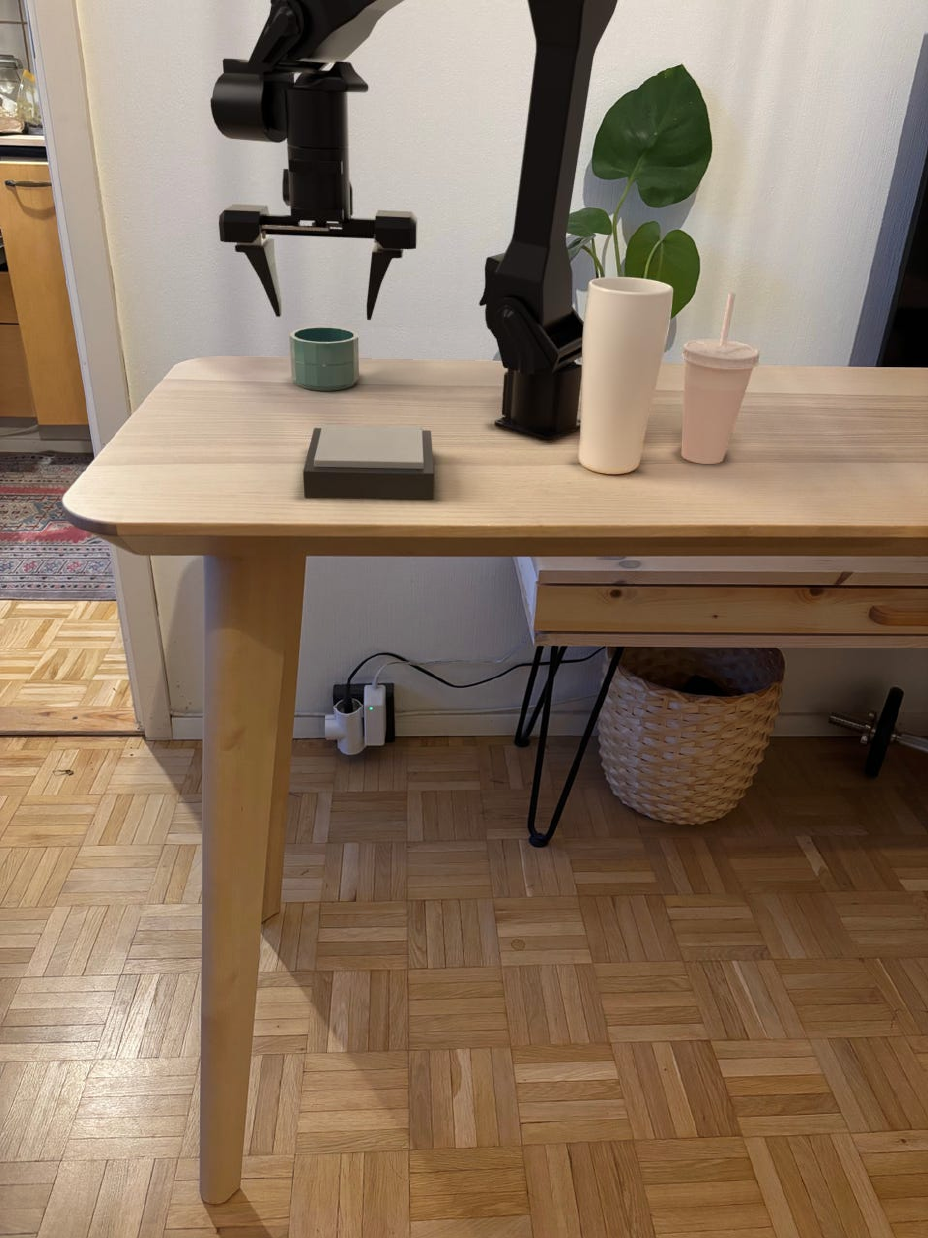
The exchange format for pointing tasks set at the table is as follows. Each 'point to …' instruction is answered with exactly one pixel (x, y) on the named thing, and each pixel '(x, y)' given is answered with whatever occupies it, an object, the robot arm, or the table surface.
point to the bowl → (324, 358)
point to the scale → (369, 462)
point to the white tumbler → (620, 368)
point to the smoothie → (714, 392)
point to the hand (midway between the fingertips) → (324, 317)
